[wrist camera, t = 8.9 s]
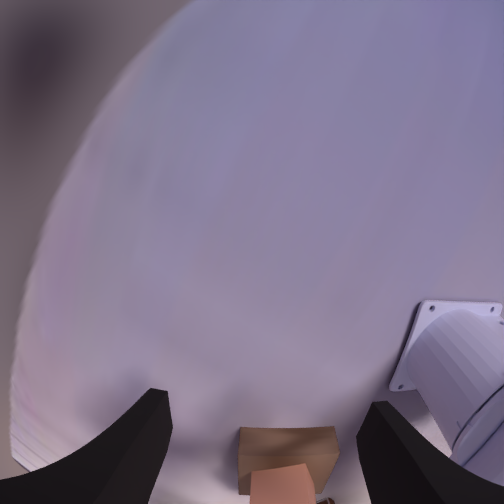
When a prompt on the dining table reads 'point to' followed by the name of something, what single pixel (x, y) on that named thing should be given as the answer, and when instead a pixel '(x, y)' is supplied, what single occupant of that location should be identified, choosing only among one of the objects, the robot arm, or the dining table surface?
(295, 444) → the walnut block
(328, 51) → the dining table surface
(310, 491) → the terracotta cube
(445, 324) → the robot arm
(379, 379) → the dining table surface
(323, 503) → the food container
